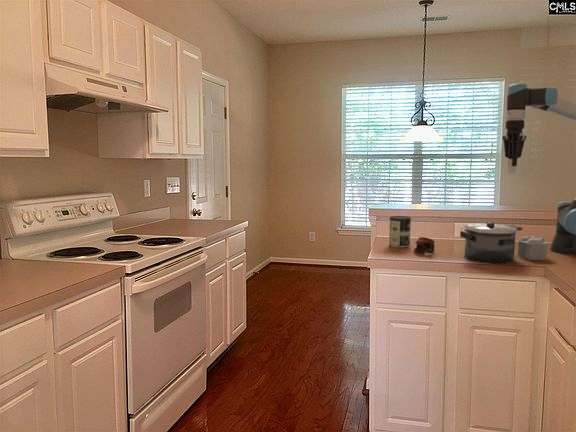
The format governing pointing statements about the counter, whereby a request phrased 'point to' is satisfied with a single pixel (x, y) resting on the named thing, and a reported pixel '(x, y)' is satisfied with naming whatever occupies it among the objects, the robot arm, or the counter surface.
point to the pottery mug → (424, 245)
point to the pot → (489, 247)
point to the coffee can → (399, 231)
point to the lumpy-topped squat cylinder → (532, 248)
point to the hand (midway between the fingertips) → (511, 173)
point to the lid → (492, 228)
